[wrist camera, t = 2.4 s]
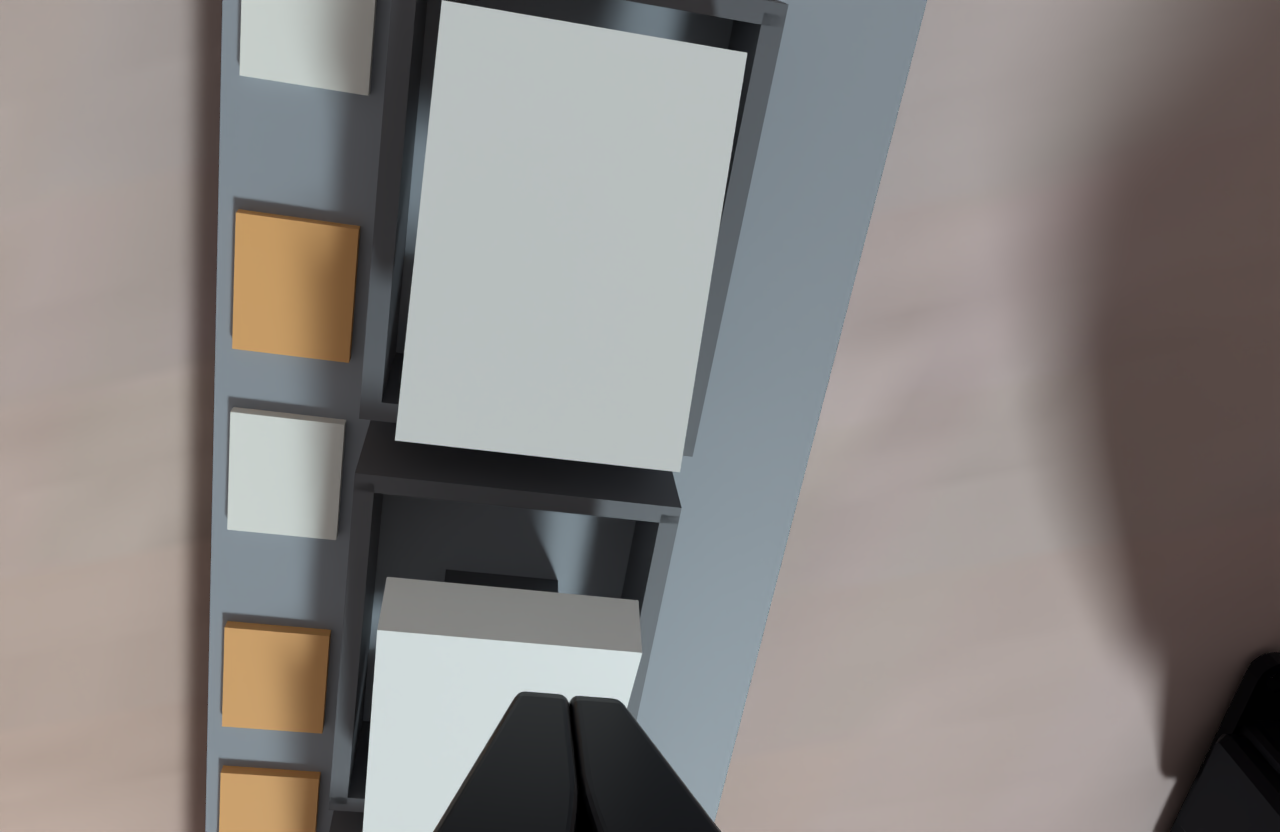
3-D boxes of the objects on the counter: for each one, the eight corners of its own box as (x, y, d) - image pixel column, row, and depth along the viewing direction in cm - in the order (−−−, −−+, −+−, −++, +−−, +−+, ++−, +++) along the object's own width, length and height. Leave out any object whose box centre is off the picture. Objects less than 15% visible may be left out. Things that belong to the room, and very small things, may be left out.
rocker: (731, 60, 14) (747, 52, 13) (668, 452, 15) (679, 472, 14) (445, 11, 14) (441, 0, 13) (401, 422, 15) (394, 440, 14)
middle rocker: (638, 600, 16) (642, 652, 15) (583, 811, 19) (583, 865, 18) (386, 576, 16) (377, 629, 15) (369, 798, 19) (361, 852, 18)
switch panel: (890, -22, 18) (995, 1, 14) (650, 959, 27) (672, 1144, 23) (258, -141, 17) (172, -154, 13) (224, 940, 26) (167, 1135, 22)
